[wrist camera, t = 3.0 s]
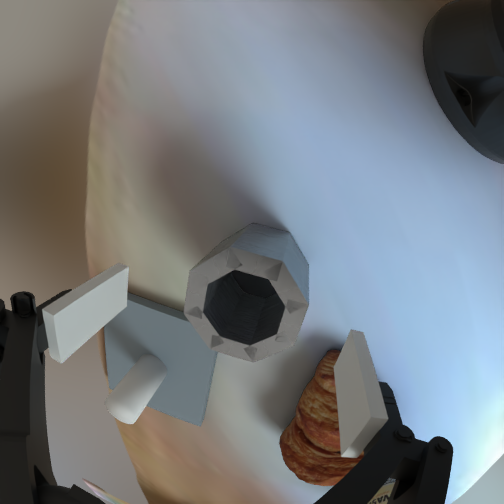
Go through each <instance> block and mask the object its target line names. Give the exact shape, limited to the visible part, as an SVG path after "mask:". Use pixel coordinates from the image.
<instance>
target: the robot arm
mask: <svg viewBox="0 0 504 504" xmlns="http://www.w3.org/2000/svg"><path fill="white" fill-rule="evenodd" d="M423 53H424V61H425V66H426V71H427V74H428V78H429V81H430V84H431V86H432V89H433V91H434V93H435V96H436V98H437V100H438V102H439V104H440V106H441V107H442V109H443V111H444V113H445V114H446V116H447V117H448V119H449V120H450V122H451V123H452V125H453V126H454V127H455V129H456V130H457V131H458V132H459V134H460V135H461V136H462V137H463V138H464V139H465V140H466V141H467V142H468V143H469V144H470V145H471V146H472V147H473V148H474V149H476V150H477V151H478V152H480V153H481V154H482V155H484V156H486V157H487V158H489V159H491V160H493V161H496V162H498V163H502V164H504V0H454V1H452V2H450V3H448V4H446V5H445V6H443V7H442V8H441V9H440V10H439V11H438V12H437V14H436V15H435V16H434V17H433V18H432V19H431V21H430V22H429V24H428V26H427V28H426V31H425V35H424V42H423ZM128 271H129V266H126V265H123V264H120V263H117V264H116V265H114V266H112V267H110V268H109V269H107V270H105V271H104V272H102V273H100V274H98V275H97V276H95V277H93V278H92V279H90V280H88V281H87V282H85V283H83V284H82V285H80V286H79V287H77V288H75V289H73V290H72V289H69V290H66V291H62V292H61V293H59V294H57V295H56V296H54V297H52V298H51V299H50V300H47V301H46V302H44V303H43V304H41V305H39V306H38V307H36V305H35V297H34V295H33V294H32V293H30V292H24V291H23V292H18V293H15V294H13V295H12V296H11V298H10V300H11V305H12V311H10V310H7V309H5V304H4V301H3V300H2V299H0V504H105V503H104V502H103V501H101V500H100V499H99V498H97V497H95V496H93V495H92V494H90V493H88V492H86V491H85V490H83V489H81V488H80V487H78V486H76V485H75V484H73V486H72V487H71V489H70V488H67V487H63V486H57V482H56V480H55V478H54V475H53V472H52V467H51V461H50V453H49V445H48V437H47V425H46V411H45V355H44V351H45V350H46V349H47V348H49V352H50V357H51V358H53V359H55V360H56V361H58V362H59V363H63V362H64V361H65V360H66V359H67V358H68V357H69V356H70V355H72V354H73V353H74V352H75V351H76V350H77V349H78V348H79V347H81V345H83V344H84V343H85V342H86V341H87V340H88V339H89V338H91V337H92V336H93V335H94V334H95V333H96V332H98V331H99V330H100V329H101V328H102V327H103V326H104V325H106V324H107V323H108V322H109V321H110V320H111V319H113V318H114V317H115V316H116V315H117V314H118V313H120V312H121V311H122V310H123V309H124V308H125V307H127V289H128ZM334 376H335V385H336V395H337V406H338V418H339V431H340V446H341V457H351V458H357V457H358V456H359V455H360V454H361V453H362V452H364V457H363V458H362V459H361V460H360V461H359V462H358V463H357V464H356V465H355V466H354V467H353V468H352V469H351V470H350V471H349V472H348V473H347V474H346V475H345V476H344V477H343V478H342V479H341V480H340V481H339V482H338V483H337V484H336V485H335V486H333V487H332V488H331V489H330V490H329V491H328V492H327V493H326V494H325V495H323V496H322V497H321V498H320V499H319V500H318V501H316V502H315V503H314V504H368V503H369V502H370V500H371V499H372V498H373V497H374V496H375V495H376V493H377V492H378V491H379V490H380V488H381V487H382V486H383V485H384V483H385V482H386V481H387V480H388V478H389V477H390V478H393V479H396V481H395V484H394V487H393V489H392V492H391V494H390V497H389V499H388V502H387V504H444V503H445V499H446V494H447V489H448V484H449V478H450V471H451V465H452V457H453V447H452V445H451V443H450V442H449V441H448V440H447V439H445V438H444V437H440V436H437V437H434V438H432V439H431V440H430V441H429V442H425V441H421V440H418V439H416V438H415V436H414V433H413V432H412V430H411V429H410V428H408V427H407V426H405V425H403V424H402V420H401V417H400V413H399V410H398V407H397V405H396V404H397V403H396V400H395V399H394V398H395V397H394V394H393V391H392V389H391V388H390V387H389V385H388V384H387V383H384V382H378V379H377V375H376V372H375V368H374V365H373V362H372V358H371V355H370V352H369V349H368V345H367V342H366V339H365V336H364V333H363V332H360V331H356V330H350V333H349V335H348V337H347V340H346V342H345V344H344V346H343V348H342V351H341V353H340V355H339V357H338V359H337V361H336V363H335V365H334Z"/></svg>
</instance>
